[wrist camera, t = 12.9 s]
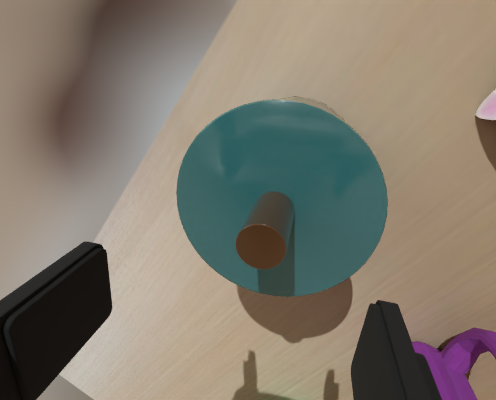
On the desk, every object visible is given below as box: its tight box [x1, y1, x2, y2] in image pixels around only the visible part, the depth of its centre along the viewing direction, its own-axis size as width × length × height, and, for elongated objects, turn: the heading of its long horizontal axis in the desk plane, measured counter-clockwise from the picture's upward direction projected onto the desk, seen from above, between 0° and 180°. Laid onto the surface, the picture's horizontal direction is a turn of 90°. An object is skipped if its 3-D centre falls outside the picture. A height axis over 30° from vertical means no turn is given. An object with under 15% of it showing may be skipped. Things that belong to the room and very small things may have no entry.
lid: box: [177, 99, 388, 297], centre depth 17 cm, size 12×12×6 cm
